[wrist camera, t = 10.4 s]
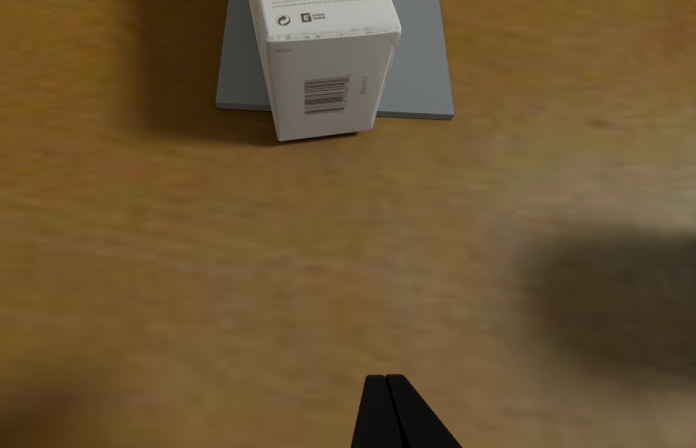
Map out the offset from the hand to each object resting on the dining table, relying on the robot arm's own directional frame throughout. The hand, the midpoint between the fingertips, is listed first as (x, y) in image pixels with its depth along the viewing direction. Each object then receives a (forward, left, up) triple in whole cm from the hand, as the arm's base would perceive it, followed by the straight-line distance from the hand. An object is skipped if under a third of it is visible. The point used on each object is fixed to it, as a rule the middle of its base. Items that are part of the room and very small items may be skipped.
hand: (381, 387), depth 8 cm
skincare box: (+5, +12, -7) cm, 15 cm away
